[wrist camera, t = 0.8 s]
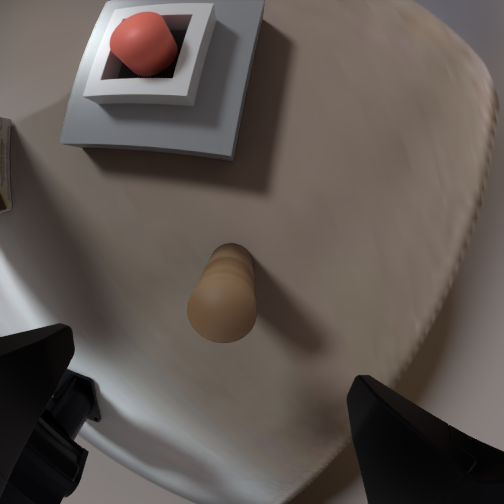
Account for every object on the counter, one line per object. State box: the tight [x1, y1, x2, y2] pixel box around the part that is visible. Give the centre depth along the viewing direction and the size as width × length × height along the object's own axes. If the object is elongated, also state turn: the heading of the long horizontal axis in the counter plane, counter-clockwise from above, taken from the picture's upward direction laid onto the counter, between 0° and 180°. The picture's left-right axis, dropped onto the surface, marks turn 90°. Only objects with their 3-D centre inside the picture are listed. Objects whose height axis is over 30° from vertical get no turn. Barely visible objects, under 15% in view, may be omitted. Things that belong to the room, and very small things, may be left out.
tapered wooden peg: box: [187, 243, 257, 343], centre depth 16 cm, size 3×3×8 cm
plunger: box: [109, 12, 178, 76], centre depth 12 cm, size 3×3×3 cm
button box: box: [60, 0, 265, 161], centre depth 14 cm, size 12×12×5 cm
